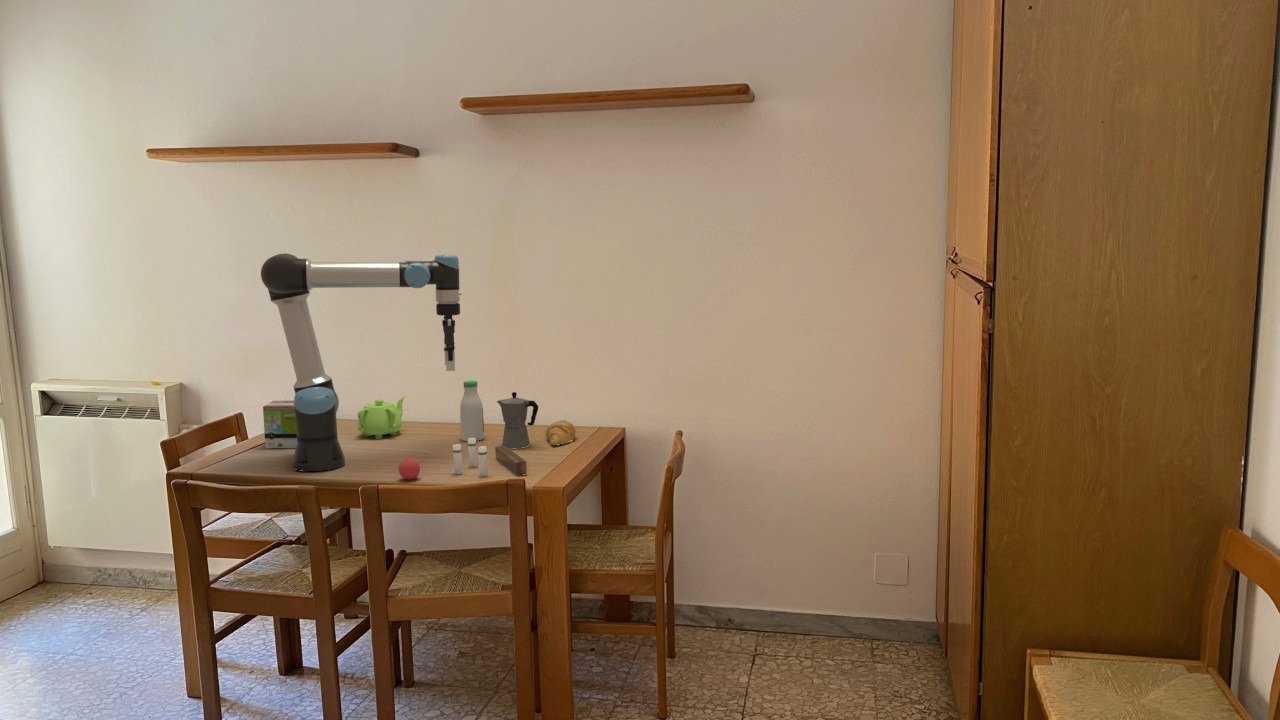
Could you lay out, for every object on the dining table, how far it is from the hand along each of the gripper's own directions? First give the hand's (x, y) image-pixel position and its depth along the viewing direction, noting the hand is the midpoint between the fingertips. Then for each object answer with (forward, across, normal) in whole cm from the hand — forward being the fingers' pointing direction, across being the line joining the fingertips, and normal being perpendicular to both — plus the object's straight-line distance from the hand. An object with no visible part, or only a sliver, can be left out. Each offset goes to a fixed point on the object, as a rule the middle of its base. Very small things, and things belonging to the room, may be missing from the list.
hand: (449, 367), depth 304 cm
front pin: (+26, -36, 0) cm, 44 cm away
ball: (+23, -38, +13) cm, 47 cm away
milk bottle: (+26, +8, -7) cm, 28 cm away
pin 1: (+26, -28, -5) cm, 39 cm away
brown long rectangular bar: (+26, -32, -16) cm, 44 cm away
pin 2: (+26, -40, -7) cm, 48 cm away
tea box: (+27, +16, +52) cm, 61 cm away
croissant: (+26, -2, -36) cm, 44 cm away
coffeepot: (+26, -7, -21) cm, 34 cm away
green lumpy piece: (+27, +24, +23) cm, 43 cm away
